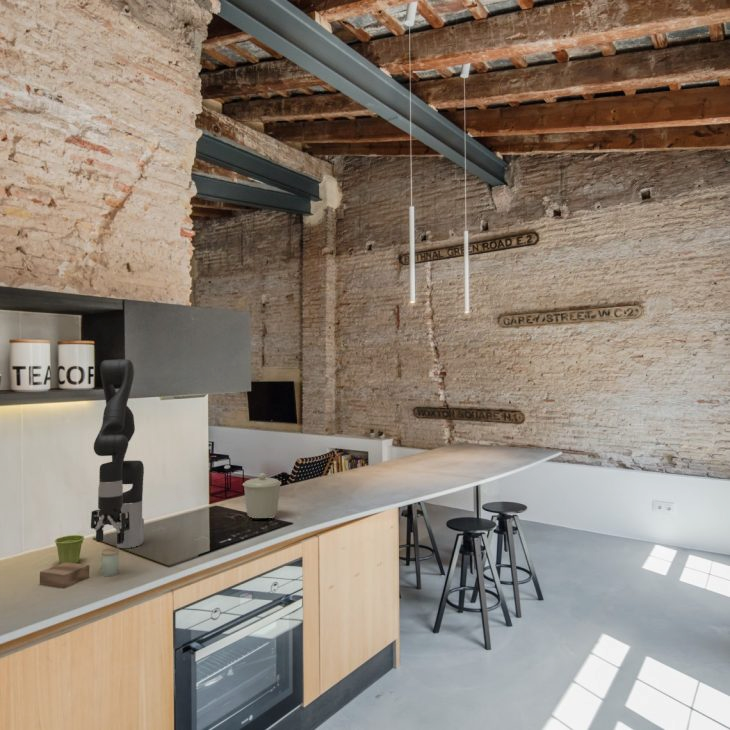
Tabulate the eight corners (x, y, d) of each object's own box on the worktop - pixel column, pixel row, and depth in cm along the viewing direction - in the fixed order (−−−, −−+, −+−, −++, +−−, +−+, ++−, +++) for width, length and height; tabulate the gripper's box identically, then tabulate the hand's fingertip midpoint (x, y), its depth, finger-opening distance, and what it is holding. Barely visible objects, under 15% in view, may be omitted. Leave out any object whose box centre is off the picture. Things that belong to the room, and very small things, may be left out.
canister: (254, 525, 246) (254, 478, 247) (235, 517, 260) (235, 473, 260) (288, 518, 258) (288, 473, 259) (268, 511, 272) (268, 468, 272)
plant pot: (88, 558, 201) (89, 534, 201) (76, 567, 191) (76, 542, 191) (62, 559, 200) (63, 535, 200) (48, 567, 191) (49, 542, 191)
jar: (109, 570, 188) (110, 547, 189) (122, 571, 187) (122, 548, 187) (97, 575, 183) (97, 551, 183) (110, 577, 182) (110, 553, 182)
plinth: (65, 574, 185) (65, 562, 185) (89, 577, 181) (89, 565, 182) (39, 584, 175) (39, 571, 175) (63, 588, 172) (64, 575, 172)
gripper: (135, 493, 187) (135, 541, 186) (102, 490, 191) (101, 537, 191) (119, 497, 180) (118, 547, 179) (85, 494, 184) (84, 543, 184)
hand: (109, 542), depth 185 cm, fingers open, 8 cm apart
